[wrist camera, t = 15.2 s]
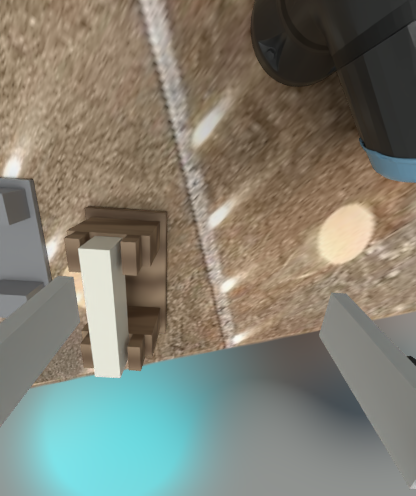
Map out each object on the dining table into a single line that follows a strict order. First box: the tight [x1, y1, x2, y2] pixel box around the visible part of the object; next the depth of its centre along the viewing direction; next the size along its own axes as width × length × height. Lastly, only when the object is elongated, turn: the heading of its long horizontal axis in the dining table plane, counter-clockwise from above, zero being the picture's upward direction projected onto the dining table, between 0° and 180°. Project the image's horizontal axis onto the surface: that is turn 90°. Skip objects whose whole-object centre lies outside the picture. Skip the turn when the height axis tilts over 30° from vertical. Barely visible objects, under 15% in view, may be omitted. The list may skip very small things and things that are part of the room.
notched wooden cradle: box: [64, 206, 167, 371], centre depth 43 cm, size 26×14×12 cm, turn 176°
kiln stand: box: [0, 177, 52, 318], centre depth 44 cm, size 26×10×6 cm, turn 176°
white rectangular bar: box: [78, 236, 129, 378], centre depth 38 cm, size 22×4×5 cm, turn 176°
